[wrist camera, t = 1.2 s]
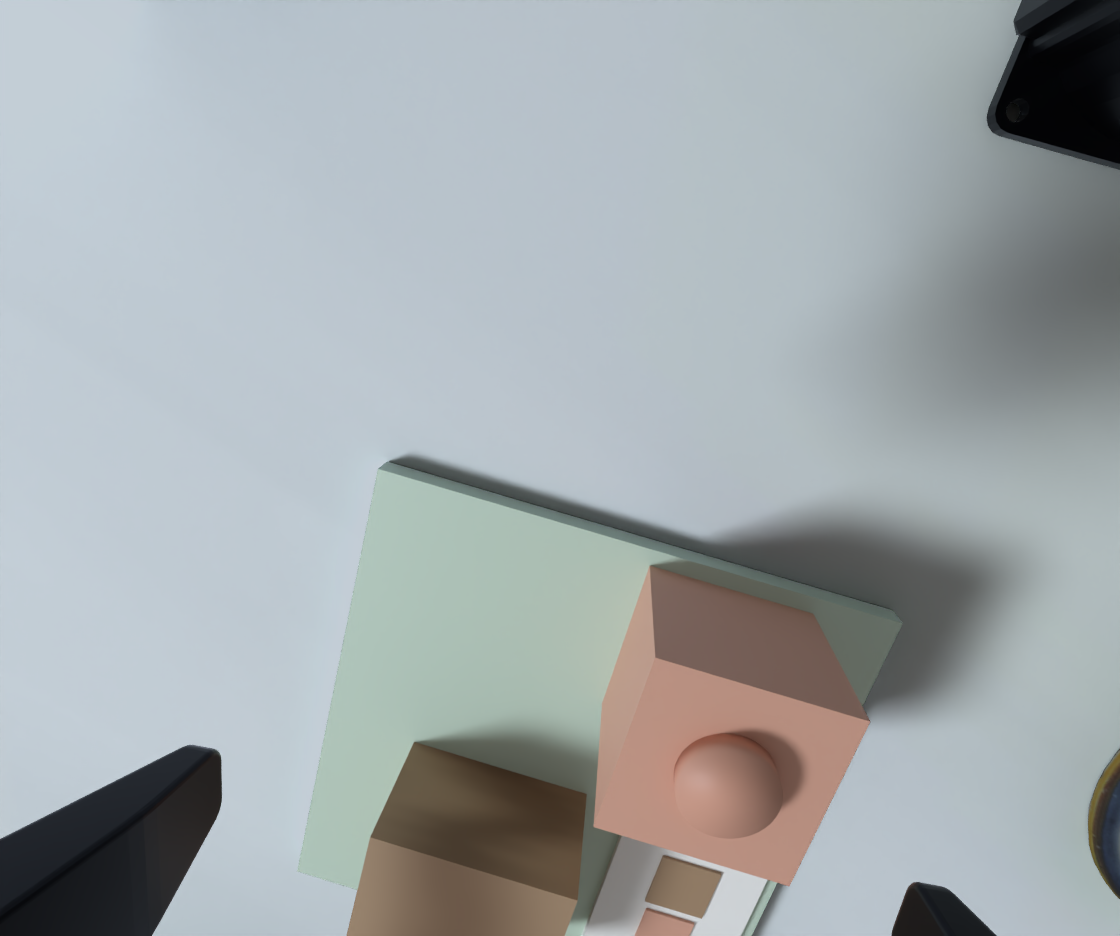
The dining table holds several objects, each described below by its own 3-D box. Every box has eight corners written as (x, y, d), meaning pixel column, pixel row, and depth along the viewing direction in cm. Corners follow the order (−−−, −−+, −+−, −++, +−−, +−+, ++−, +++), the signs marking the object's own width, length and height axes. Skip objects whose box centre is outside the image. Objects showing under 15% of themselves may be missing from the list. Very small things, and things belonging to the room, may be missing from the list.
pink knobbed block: (813, 613, 20) (879, 739, 15) (754, 749, 21) (794, 908, 16) (649, 565, 20) (656, 672, 15) (601, 703, 22) (592, 846, 16)
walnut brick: (586, 793, 23) (577, 900, 19) (540, 924, 24) (523, 1045, 21) (414, 742, 23) (370, 837, 19) (380, 875, 24) (334, 987, 21)
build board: (892, 610, 21) (908, 630, 19) (717, 979, 25) (721, 1012, 24) (387, 461, 21) (372, 472, 20) (307, 853, 26) (291, 880, 24)
